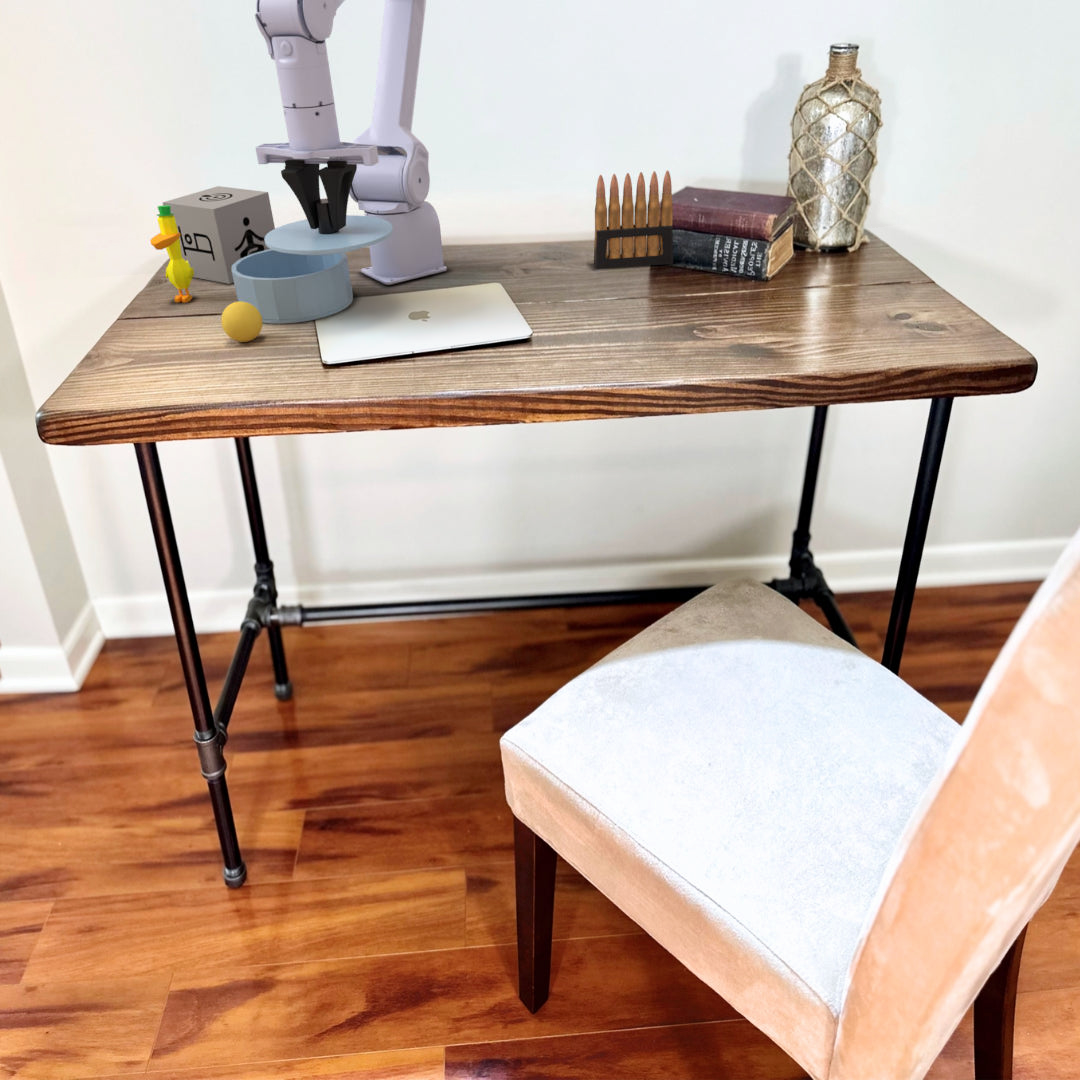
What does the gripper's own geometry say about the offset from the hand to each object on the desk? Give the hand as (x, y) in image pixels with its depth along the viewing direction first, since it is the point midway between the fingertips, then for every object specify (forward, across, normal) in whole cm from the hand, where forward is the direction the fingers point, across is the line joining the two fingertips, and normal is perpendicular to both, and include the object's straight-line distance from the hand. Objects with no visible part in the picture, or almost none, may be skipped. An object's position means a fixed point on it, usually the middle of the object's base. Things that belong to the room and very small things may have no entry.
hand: (328, 227), depth 116 cm
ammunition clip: (+11, +32, +24) cm, 42 cm away
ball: (+8, -7, -11) cm, 15 cm away
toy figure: (+11, -23, 0) cm, 26 cm away
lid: (+1, 0, 0) cm, 1 cm away
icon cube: (+11, -24, +14) cm, 30 cm away
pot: (+10, -7, +2) cm, 13 cm away
